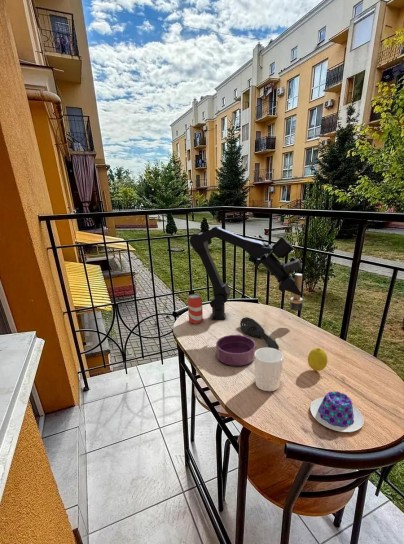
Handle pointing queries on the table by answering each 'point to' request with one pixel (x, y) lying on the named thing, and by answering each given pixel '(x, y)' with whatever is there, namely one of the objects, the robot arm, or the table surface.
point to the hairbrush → (256, 331)
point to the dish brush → (296, 300)
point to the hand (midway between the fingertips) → (300, 293)
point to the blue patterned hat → (337, 412)
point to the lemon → (317, 359)
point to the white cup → (268, 368)
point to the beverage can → (195, 309)
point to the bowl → (235, 350)
